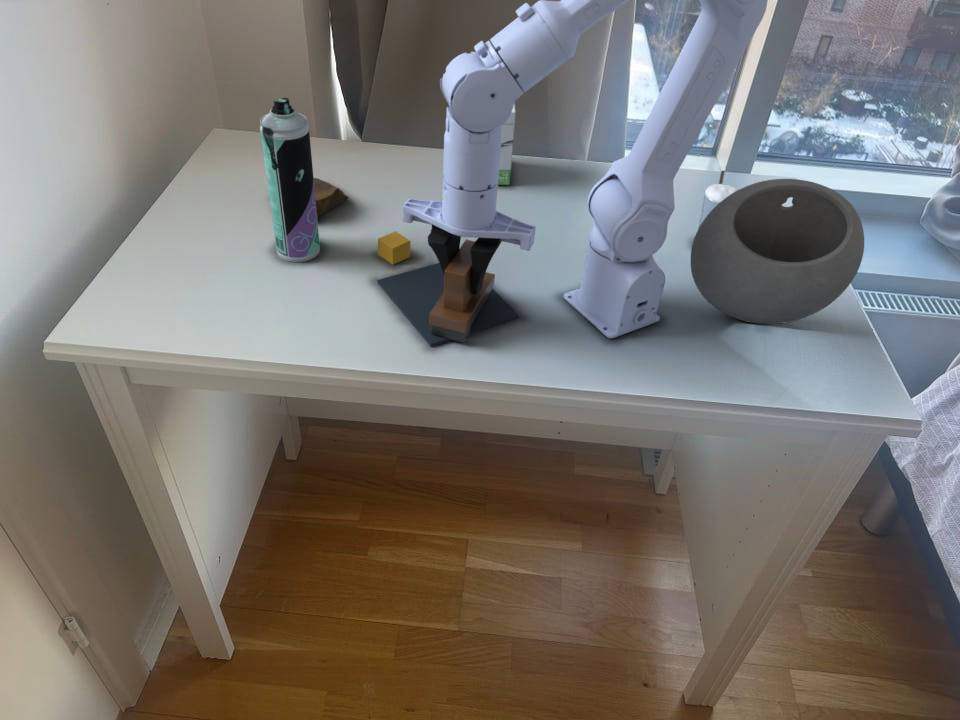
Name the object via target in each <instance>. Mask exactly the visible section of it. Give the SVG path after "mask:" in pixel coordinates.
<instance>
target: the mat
mask: <svg viewBox="0 0 960 720" xmlns="http://www.w3.org/2000/svg"><path fill="white" fill-rule="evenodd" d="M376 283H377V284H378V285H379V287H380V288H381V289H382V290H383V291H384V293H385V294H386V295H387V296H388V298H390V300H391V301H392V302H393V303H394V305H395V306H396V307H397V308H398V309H399V310H400V312H401V313H402V314H403V316H404V317H405V318H406V319H407V320H408V321H409V323H410V324H411V325H412V326H413V327H414V329H415V330H416V331H417V332H418V333H419V335H420V336H421V337H422V339H424V341H425V342H426V343H427V344H428V346H429V347H430V348H431V347H435V346H438V345H440V344H444V343H447V342H449V341H453V340H452V339H448V338H444V337H441V336H437V335H433V334H431V326H432V325H430V324H429V314H430V313H431V311H432V309H433V308H434V306H435V305H436V303H437V302H438V300H439V299H440V297H441V296H442V294H443V293H444V275H443V271H442V268H441V266H440V263H439V262H437V263H433V264H430V265H425V266H423V267H419V268H416V269H412V270H408V271H405V272H401V273H397V274H394V275H391V276H387V277H383V278H380V279H377V280H376ZM519 318H520V314H519V313H518V312H517V311H516V310H515V309H514V308H513V307H512V306H511V305H510V304H509V303H508V302H507V301H506V300H505V299H504V298H503V297H502V296H501V295H500V294H499V293H498V292H497V291H496V290H494V288H492V291H491V296H490V298H489V299H488V301H487V303H486V305H485V307H484V308H483V310H482V312H481V314H480V315H479V317H478V319H477V321H476V322H475V324H474V326H473V328H472V330H471V331H470V333H469V335H471V334H474V333H477V332H479V331H480V332H481V331H484V330H486V329H489V328H493V327H495V326H497V325H502V324H504V323H507V322H510V321H513V320H516V319H519Z"/></svg>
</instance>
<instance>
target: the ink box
mask: <svg viewBox="0 0 960 720" xmlns="http://www.w3.org/2000/svg"><path fill="white" fill-rule="evenodd" d="M515 103H516V102H515ZM515 103H514V106H513V109H512V112H511V115H510V116H509V118H508V120H507V121H506V122H505V123H504V124H502V130H501V139H502V142H501V154H500V165H499V177H498V186H504V185H505V186H509V185H510V184H511V183H510V182H511V172H512V163H513V150H514V149H513V148H514V137H515V126H516V125H515V124H516V115H517V114H516V113H517V112H516V104H515Z"/></svg>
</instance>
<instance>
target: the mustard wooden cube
mask: <svg viewBox="0 0 960 720" xmlns="http://www.w3.org/2000/svg"><path fill="white" fill-rule="evenodd" d="M377 256H379V257H381V258H382V259H383V260H384V261H386V262H388V263H389V264H391V265H393V266H394V265H395V264H398V263H400V262H402V261H404V260H406V259H409V258H410V257H411V240H410V239H408V238H407V237H405V236H404V235H402V234H401V233H399V232H398V231H393V232H390V233H388V234H385V235H384V236H381V237H379V238H377Z"/></svg>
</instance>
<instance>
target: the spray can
mask: <svg viewBox="0 0 960 720" xmlns="http://www.w3.org/2000/svg"><path fill="white" fill-rule="evenodd" d="M259 123H260V126H259V132H260V137H261V146H262V152H263V159H264V161H263V162H264V167H265V174H266V180H267V182H266V183H267V189H268V190H267V191H268V196H269V203H270V204H269V205H270V210H271V211H270V212H271V219H272V225H273V234H274V240H275V248H276V253H277V255H278V257H279V258H281V259H282V260H284V261H286V262H290V263H302V262H304V263H305V262H308V261H311V260H312V259H315V258H316V257H317V256H318V255H319V254H320V251H321V248H320V247H321V244H320V235H319V234H320V233H319V224H318V217H317V211H316V200H315V189H314V178H315V177H314V169H313V168H314V167H313V157H312V147H311V145H312V144H311V137H310V136H311V134H310V125H309V124H308V118H307V116H305V115H304V114H302V113H301V112H297V111H296V109H295V108H294V107H293V106H292V105H291V104H290V99H289V97H281V98H278V99H274V100H273V105H272V107H271V108H270V110H269V113H267V114H265V115H263V116H262V117H261V118H260V119H259Z"/></svg>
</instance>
